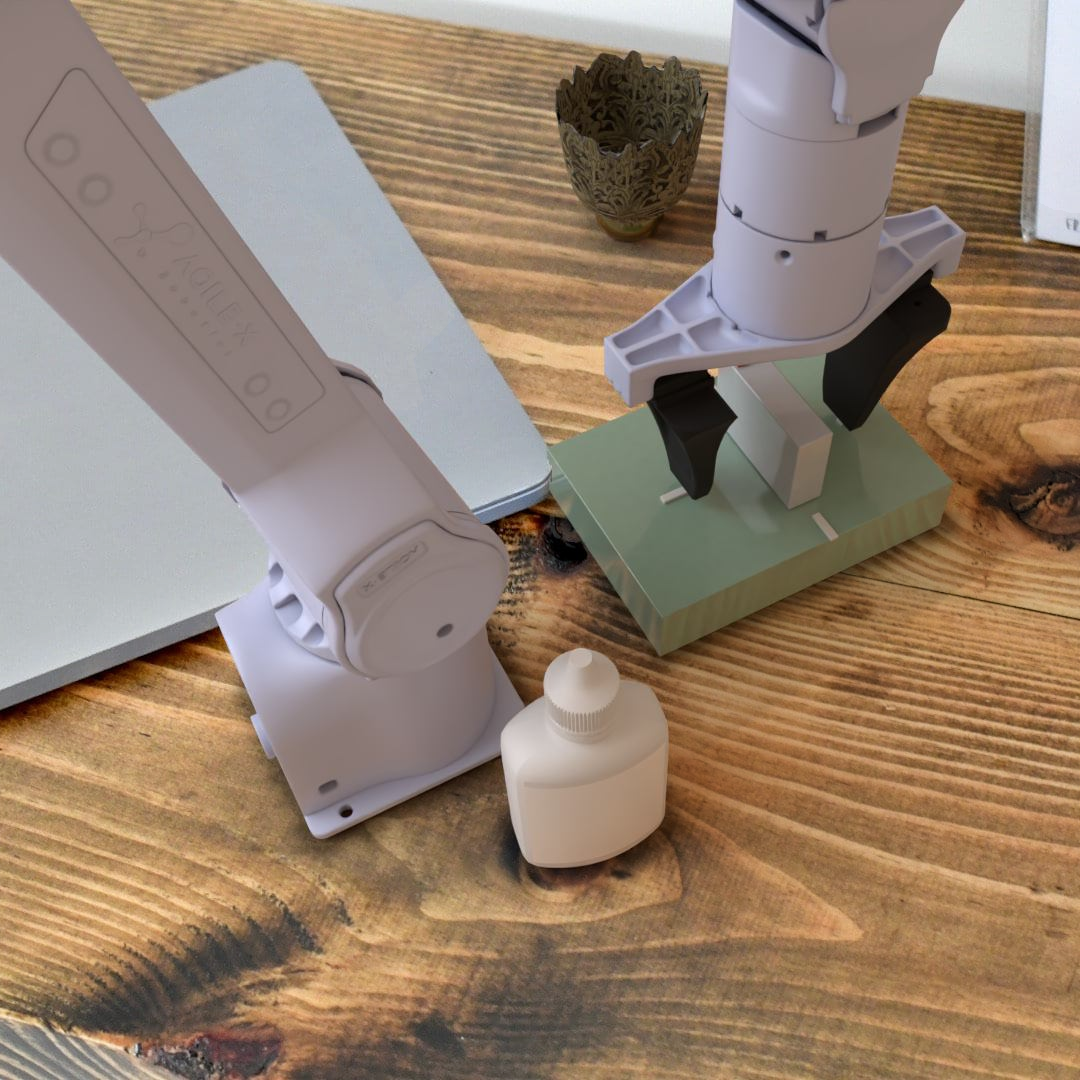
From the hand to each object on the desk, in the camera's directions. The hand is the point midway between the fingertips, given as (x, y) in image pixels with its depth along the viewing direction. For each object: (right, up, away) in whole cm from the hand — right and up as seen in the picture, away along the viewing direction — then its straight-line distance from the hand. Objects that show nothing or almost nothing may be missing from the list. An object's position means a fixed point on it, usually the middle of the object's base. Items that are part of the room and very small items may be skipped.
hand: (766, 447), depth 55 cm
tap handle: (0, 0, 0) cm, 1 cm away
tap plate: (-1, -2, +3) cm, 4 cm away
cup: (-5, +13, +14) cm, 20 cm away
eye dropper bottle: (-8, -15, -6) cm, 18 cm away
